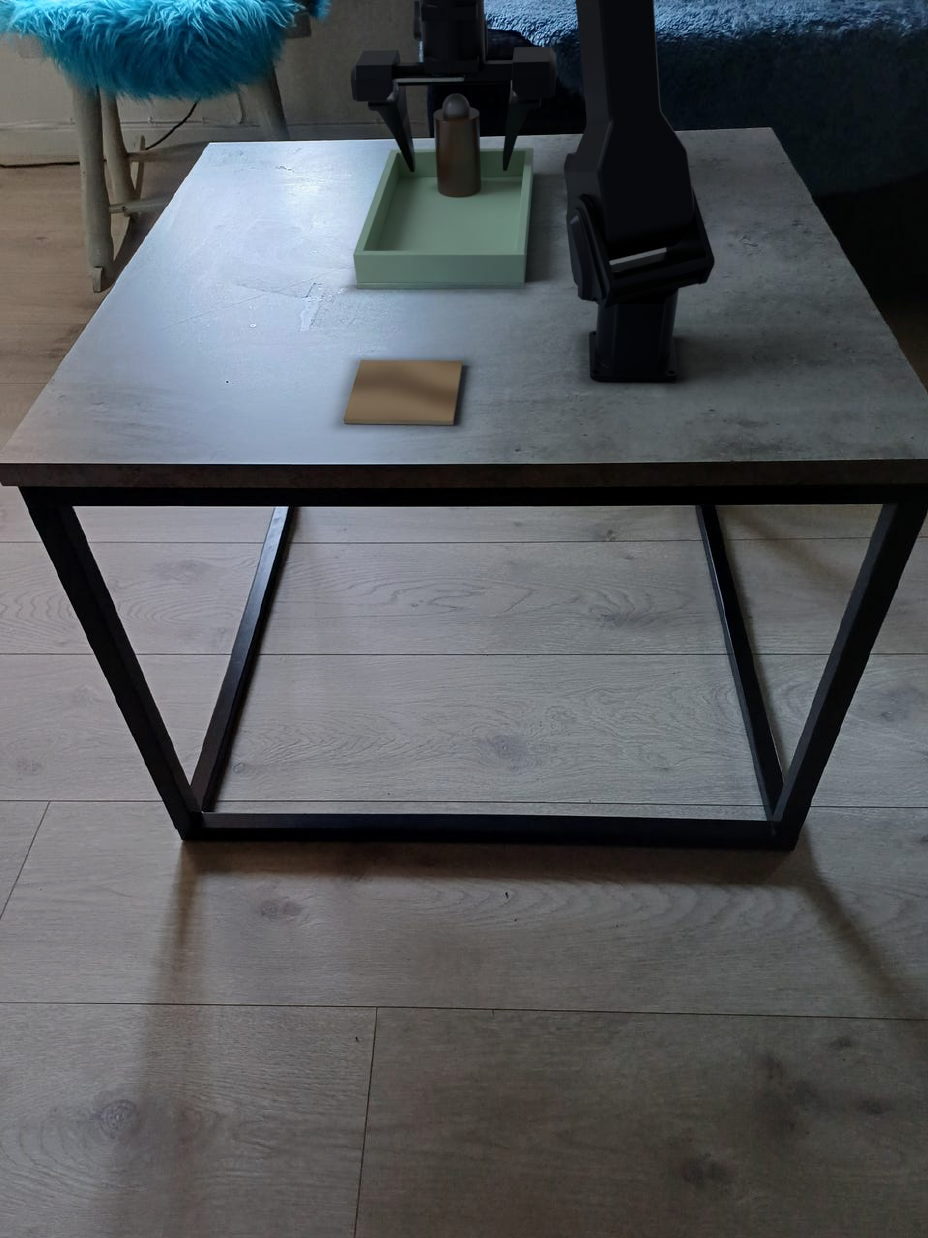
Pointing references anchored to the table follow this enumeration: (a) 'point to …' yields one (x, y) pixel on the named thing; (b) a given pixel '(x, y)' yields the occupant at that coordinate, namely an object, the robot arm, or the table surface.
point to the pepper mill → (457, 148)
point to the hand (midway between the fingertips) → (458, 169)
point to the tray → (447, 226)
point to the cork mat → (404, 392)
